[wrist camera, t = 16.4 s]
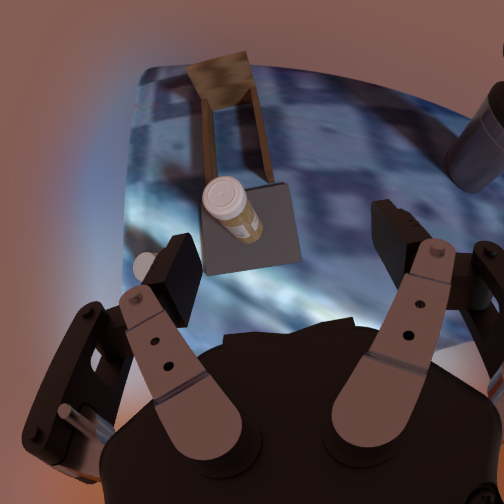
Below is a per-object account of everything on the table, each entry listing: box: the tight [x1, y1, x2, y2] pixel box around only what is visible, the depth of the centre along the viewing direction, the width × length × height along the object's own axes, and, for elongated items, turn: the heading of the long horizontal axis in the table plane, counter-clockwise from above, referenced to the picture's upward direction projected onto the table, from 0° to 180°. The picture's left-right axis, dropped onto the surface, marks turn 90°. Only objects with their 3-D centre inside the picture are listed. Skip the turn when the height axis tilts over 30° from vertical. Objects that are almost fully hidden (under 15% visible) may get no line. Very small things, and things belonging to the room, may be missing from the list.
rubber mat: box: [201, 184, 302, 276], centre depth 42 cm, size 14×12×1 cm
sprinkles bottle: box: [202, 176, 263, 244], centre depth 36 cm, size 5×5×13 cm
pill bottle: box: [133, 252, 158, 281], centre depth 40 cm, size 5×5×8 cm
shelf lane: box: [186, 51, 275, 186], centre depth 41 cm, size 10×19×12 cm, turn 8°
